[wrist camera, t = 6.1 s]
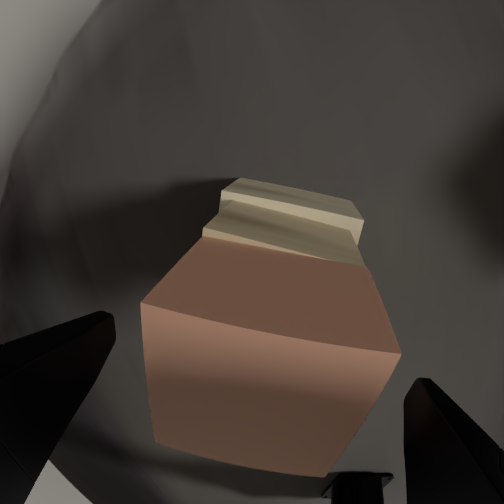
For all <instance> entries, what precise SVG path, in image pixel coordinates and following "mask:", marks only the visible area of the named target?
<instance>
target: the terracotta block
mask: <svg viewBox="0 0 504 504" xmlns="http://www.w3.org/2000/svg"><path fill="white" fill-rule="evenodd" d="M141 321H142V337H143V350H144V361H145V371H146V381H147V389H148V398H149V405H150V412H151V419H152V426H153V432H154V438H155V443H158V444H161V445H164V446H167V447H170V448H173V449H177V450H180V451H183V452H187V453H190V454H194V455H197V456H201V457H205V458H209V459H213V460H217V461H221V462H225V463H230V464H234V465H239V466H244V467H249V468H254V469H260V470H266V471H272V472H278V473H286V474H293V475H302V476H312V477H324V478H325V476H326V475H327V474H328V472H329V471H330V470H331V468H332V467H333V466H334V464H335V463H336V462H337V460H338V459H339V457H340V456H341V455H342V453H343V452H344V450H345V449H346V448H347V446H348V445H349V443H350V442H351V440H352V439H353V437H354V436H355V434H356V433H357V431H358V430H359V428H360V427H361V425H362V424H363V422H364V420H365V419H366V417H367V416H368V414H369V412H370V411H371V409H372V407H373V406H374V404H375V402H376V401H377V399H378V397H379V396H380V394H381V392H382V390H383V389H384V387H385V385H386V383H387V381H388V380H389V378H390V376H391V374H392V372H393V370H394V368H395V366H396V365H397V363H398V361H399V359H400V357H401V355H402V353H401V350H400V348H399V345H398V342H397V339H396V336H395V334H394V331H393V328H392V326H391V323H390V320H389V318H388V315H387V313H386V310H385V307H384V305H383V302H382V300H381V297H380V295H379V292H378V290H377V288H376V285H375V283H374V280H373V278H372V276H371V273H370V271H369V269H368V268H365V267H360V266H355V265H350V264H345V263H340V262H335V261H330V260H325V259H320V258H315V257H310V256H305V255H300V254H294V253H289V252H284V251H279V250H274V249H269V248H264V247H258V246H253V245H248V244H243V243H238V242H232V241H227V240H222V239H217V238H212V237H206V236H202V237H201V238H200V239H199V240H198V241H197V242H196V243H195V244H194V246H193V247H192V248H191V249H190V250H189V251H188V252H187V253H186V254H185V255H184V256H183V257H182V258H181V259H180V260H179V261H178V262H177V263H176V264H175V266H174V267H173V268H172V269H171V270H170V271H169V272H168V273H167V274H166V275H165V276H164V277H163V278H162V280H161V281H160V282H159V283H158V284H157V285H156V286H155V287H154V288H153V289H152V290H151V291H150V293H149V294H148V295H147V296H146V297H145V298H144V299H143V300H142V301H141Z"/></svg>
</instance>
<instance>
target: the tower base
mask: <svg viewBox="0 0 504 504" xmlns="http://www.w3.org/2000/svg"><path fill="white" fill-rule="evenodd" d="M232 200H236V201H240V202H244V203H248V204H252V205H256V206H260V207H264V208H268V209H272V210H276V211H280V212H284V213H288V214H292V215H296V216H299V217H303V218H307V219H311V220H314V221H318V222H322V223H325V224H329V225H333V226H336V227H340V228H343V229H347V230H350V231H351V234H352V236H353V238H354V240H355V243H356V245H358V241H359V238H360V234H361V230H362V227H363V223H364V219H363V218H362V216H361V215H360V213H359V212H358V210H357V209H356V207H355V206H354V204H353V203H352V202H351V201H350V200H345V199H341V198H337V197H333V196H328V195H324V194H319V193H315V192H310V191H306V190H301V189H296V188H291V187H286V186H281V185H276V184H271V183H266V182H261V181H256V180H250V179H245V178H239V179H237V180H236V181H234V182H233V183H232V184H230V185H229V186H227V187H226V188H225V189H223V190H222V192H221V199H220V207H219V212H220V211H221V210H222V209H224V208H225V207H226V206H227V205H228V204H229V203H230V202H231V201H232Z"/></svg>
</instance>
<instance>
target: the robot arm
mask: <svg viewBox="0 0 504 504" xmlns="http://www.w3.org/2000/svg"><path fill="white" fill-rule="evenodd" d="M115 341H116V331H115V322H114V317H113V315H112V314H111V313H108V312H105V311H97V312H94V313H91V314H88V315H86V316H83V317H80V318H77V319H74V320H71V321H68V322H65V323H62V324H59V325H56V326H53V327H50V328H47V329H44V330H42V331H39V332H36V333H33V334H30V335H27V336H24V337H21V338H18V339H15V340H12V341H9V342H6V343H4V344H0V504H24V503H25V501H26V499H27V497H28V495H29V494H30V492H31V490H32V488H33V486H34V484H35V482H36V480H37V478H38V476H39V475H40V473H41V471H42V469H43V468H44V466H45V464H46V462H47V460H48V459H49V457H50V455H51V454H52V452H53V450H54V448H55V447H56V445H57V443H58V442H59V440H60V438H61V436H62V435H63V433H64V431H65V430H66V428H67V426H68V425H69V423H70V421H71V420H72V418H73V417H74V415H75V413H76V412H77V410H78V408H79V407H80V405H81V404H82V402H83V400H84V399H85V397H86V396H87V394H88V393H89V391H90V389H91V388H92V386H93V385H94V383H95V381H96V379H97V377H98V376H99V374H100V371H101V369H102V367H103V365H104V363H105V361H106V359H107V357H108V355H109V353H110V351H111V349H112V348H113V346H114V343H115ZM404 457H405V471H406V489H407V504H504V451H503V450H502V449H501V448H500V447H499V446H498V445H497V444H496V443H495V442H494V441H493V440H492V439H491V437H490V436H489V435H488V434H487V433H486V432H485V431H484V430H483V429H482V428H481V427H480V426H479V425H477V424H476V423H475V422H474V421H473V420H472V419H471V418H470V417H469V416H468V415H467V414H466V413H465V412H464V411H463V410H462V409H461V408H460V407H459V406H458V405H457V404H456V403H455V402H454V401H453V400H452V399H451V398H450V397H449V396H448V395H447V394H446V393H445V392H444V391H443V390H442V389H441V388H440V387H439V386H438V385H436V384H435V383H434V382H433V381H432V380H431V379H430V378H417V379H416V380H415V382H414V383H413V385H412V387H411V388H410V390H409V391H408V393H407V395H406V396H405V399H404ZM393 478H394V477H393V474H351V473H342V474H339V475H338V476H337V477H336V478H335V479H334V481H333V482H332V483H331V484H330V485H329V486H328V487H327V489H326V490H325V491H324V492H323V493H322V494H321V498H326V499H331V504H384V498H383V488H384V487H385V486H386V485H387V484H388V483H389V482H390V481H391V480H392V479H393Z"/></svg>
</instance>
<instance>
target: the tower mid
mask: <svg viewBox="0 0 504 504" xmlns="http://www.w3.org/2000/svg"><path fill="white" fill-rule="evenodd" d="M202 236H206V237H212V238H217V239H222V240H227V241H232V242H238V243H243V244H248V245H253V246H258V247H264V248H269V249H274V250H279V251H284V252H289V253H294V254H300V255H305V256H310V257H315V258H320V259H325V260H330V261H335V262H340V263H345V264H350V265H355V266H360V267H365V268H366V266H365V264H364V261H363V259H362V257H361V254H360V252H359V250H358V247H357V245H356V243H355V240H354V238H353V236H352V234H351V231H350V230H347V229H343V228H340V227H336V226H333V225H329V224H325V223H322V222H318V221H314V220H311V219H307V218H303V217H299V216H296V215H292V214H288V213H284V212H280V211H276V210H272V209H268V208H264V207H260V206H256V205H252V204H248V203H244V202H240V201H236V200H232V201H231V202H230V203H229V204H228V205H227V206H226V207H225V208H224V209H222V210H221V211H220V212H219V213H218V214H217V215H216V216H215V217H214V218H213V219H212V220H211V221H210V222H209V223H208V224H207V225H205V226H204V227H203V233H202Z"/></svg>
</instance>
